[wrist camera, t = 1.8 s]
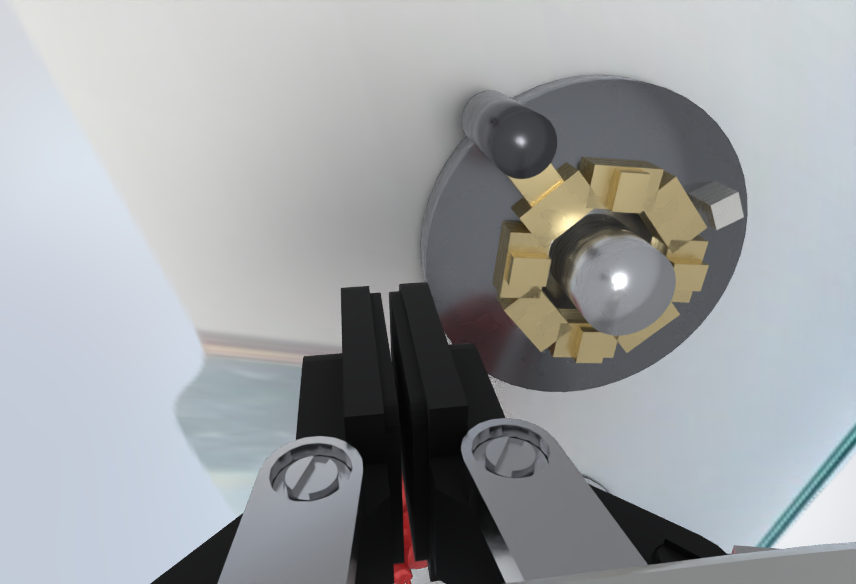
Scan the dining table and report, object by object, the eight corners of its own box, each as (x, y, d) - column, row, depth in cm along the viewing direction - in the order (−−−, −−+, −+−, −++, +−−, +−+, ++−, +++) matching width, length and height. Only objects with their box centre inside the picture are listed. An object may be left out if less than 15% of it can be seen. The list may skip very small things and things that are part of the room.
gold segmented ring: (717, 261, 31) (792, 311, 26) (564, 373, 33) (606, 440, 28) (564, 17, 25) (623, 20, 20) (385, 172, 27) (397, 211, 22)
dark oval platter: (738, 312, 36) (816, 371, 30) (474, 410, 36) (501, 488, 30) (705, 20, 28) (802, 24, 22) (371, 150, 28) (380, 188, 23)
